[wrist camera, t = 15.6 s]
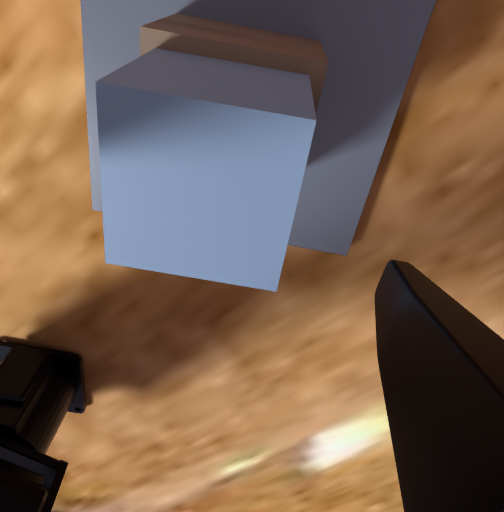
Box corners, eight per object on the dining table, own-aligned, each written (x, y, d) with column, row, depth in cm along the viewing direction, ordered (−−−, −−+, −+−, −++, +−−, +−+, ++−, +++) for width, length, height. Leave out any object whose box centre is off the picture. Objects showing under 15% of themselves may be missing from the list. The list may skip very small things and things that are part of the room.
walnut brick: (289, 174, 21) (289, 224, 17) (169, 152, 21) (138, 197, 17) (320, 40, 18) (328, 62, 13) (176, 12, 17) (140, 26, 13)
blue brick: (280, 211, 16) (276, 291, 12) (152, 189, 16) (105, 262, 12) (309, 75, 14) (316, 120, 10) (155, 47, 14) (95, 81, 9)
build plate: (344, 245, 24) (346, 255, 23) (99, 201, 24) (92, 209, 23) (448, -57, 16) (456, -59, 15) (84, -130, 16) (72, -136, 15)
